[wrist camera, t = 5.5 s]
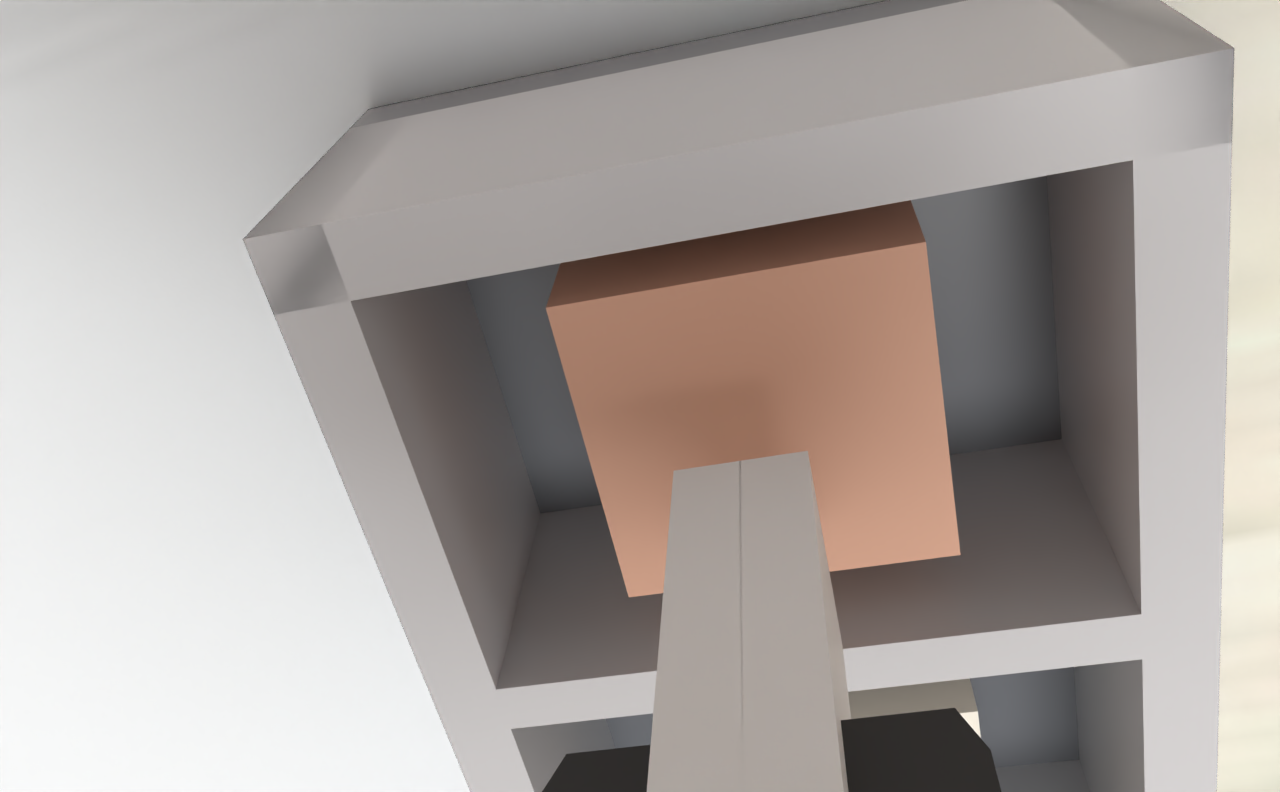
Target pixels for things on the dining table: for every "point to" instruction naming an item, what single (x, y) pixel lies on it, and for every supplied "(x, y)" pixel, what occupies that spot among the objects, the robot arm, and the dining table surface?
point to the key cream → (917, 700)
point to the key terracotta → (765, 379)
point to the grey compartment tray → (966, 338)
